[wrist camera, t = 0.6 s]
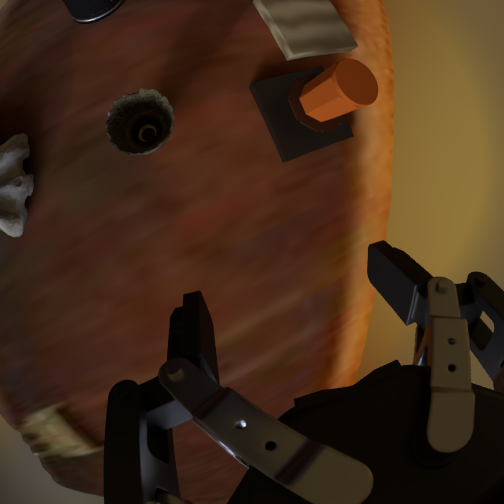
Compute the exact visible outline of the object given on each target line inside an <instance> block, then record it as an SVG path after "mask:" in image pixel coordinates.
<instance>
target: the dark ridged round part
mask: <svg viewBox="0 0 504 504" xmlns="http://www.w3.org/2000/svg"><path fill="white" fill-rule="evenodd" d="M108 116H109V118H110V119H109V120H108V121H107V122H106V127H107V129H106V134H107V135H108V137H109V138H110V139H111V140H110V143H111V144H113V145H114V146H115V147H116V148H117V149H118V150H119V151H120V152H123V153H127V154H132V155H145V154H149V153H152V152H154V151H156V150H158V149H159V148H161V147H162V146H163V145H164V144H165V142H166V141H167V139H168V138H169V136H170V133H171V130H172V128H173V122H174V111H173V107H172V105H171V104H170V103H169V102H168V99H167V97H166V96H162V95H161V93H160V92H159V91H157V90H155V89H146V88H141V89H140V91H139V92H138V93H133V94H131V95H130V94H127V93H126V94H124V96H123V98H118V99H116V101H115V102H114V107H113V110H112V111H111V110H110V111H109V112H108ZM148 128H150V129H152V130H153V131H154V137H153V138H152V139H151V140H145V139H143V137H142V133H143V131H144V130H145V129H148Z"/></svg>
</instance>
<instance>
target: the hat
mask: <svg viewBox="0 0 504 504" xmlns="http://www.w3.org/2000/svg"><path fill="white" fill-rule="evenodd" d="M297 79H298V80H296V79H295V80H294V82H293V85H292V87H291V90H290V92H289V95H288V97H290V98H292V99H289V100H288V101H289V103H290V105H291V108H292V110H293V112H294V114H295V116H296V119H297V120H298V119H301V120H300V123H302V124H304V125H306V126H307V127H309V128H311V129H313V130H315V131H317V132H320V130H321V131H322V133H323V132H326V131H329V130H332V129H335V128H338V127H340V126H339V124H340V125H342V123H343V119H344V116H345V114H346V113H348V112H351V111H354V110H356V109H359V108H362V107H365V106H367V105H370V104H372V103H373V102H374V101H375V100H376V98H377V95H378V85H377V81H376V79H375V77H374V75H373V74H372V72H371V71H370V70H369V69H368V68H367V67H366V66H365V65H364V64H363V63H361V62H359V61H357V60H354V59H344V60H342V61H340V62H338V63H335V64H333V65H332V66H331V67H329V68H328V69H326V70H325V71H323V72H322V73H321V74H318V75H317V76H316V74H315V73H314V74H310V75H305V76H301V77H297ZM305 112H306V113H305Z"/></svg>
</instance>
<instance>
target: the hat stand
mask: <svg viewBox="0 0 504 504" xmlns="http://www.w3.org/2000/svg"><path fill="white" fill-rule="evenodd" d="M323 71H325V70H324V69H323V67H322V66H321V67H316V68H311V69H306V70H301V71H296V72H292V73H288V74H284V75H279V76H276V77H272V78H268V79H264V80H261V81H257V82H254V83H251V84H250V86H249V88H250V91H251V93H252V95H253V97H254V99H255V101H256V103H257V105H258V107H259V109H260V111H261V114H262V116H263V118H264V120H265V122H266V125H267V127H268V129H269V131H270V133H271V136H272V138H273V140H274V142H275V145H276V147H277V149H278V152H279V154H280V156H281V159H282V161H283V162H287V161H289V160H292V159H294V158H297V157H299V156H302V155H304V154H307V153H310V152H312V151H315V150H317V149H320V148H323V147H325V146H328V145H331V144H333V143H336V142H339V141H342V140H345V139H347V138H350V137H353V133H352V131H351V128H350V126H349V123H348V121H347V118H346V116H344V119H343V123H342V125H340V124H339V126H340V127H338V128H335V129H332V130H329V131H326V132H323V133H322V131H321V130H320V132H317V131H315V130H313V129H311V128H309V127H307V126H306V125H304V124H302V123H300V120H301V119H298V120H297V119H296V116H295V114H294V112H293V110H292V108H291V105H290V103H289V101H288V100H289V99H292V98H290V97H288V95H289V92H290V90H291V87H292V85H293V82H294V80H295V79H296V80H298V79H297V77H301V76H305V75H310V74H314V73H315V74H316V76H317V75H318V74H321V73H322V72H323ZM305 113H306V112H305Z"/></svg>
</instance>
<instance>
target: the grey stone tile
mask: <svg viewBox="0 0 504 504" xmlns="http://www.w3.org/2000/svg"><path fill="white" fill-rule="evenodd" d="M253 4H254V5H255V7H256V9H257V10H258V12H259V13H260V15H261V16H262V18H263V20H264V21H265V23H266V25H267V26H268V28H269V30H270V31H271V33H272V35H273V36H274V38H275V40H276V42H277V43H278V45H279V47H280V49H281V51H282V52H283V54H284V56H285V58H286V60H287V61H290V60H295V59H300V58H305V57H311V56H317V55H324V54H332V53H340V52H349V51H352V50H353V49H355V48H356V47H358V45H357V43H356V41H355V40H354V38H353V36H352V34H351V33H350V31H349V29H348V28H347V26H346V24H345V23H344V21H343V20H342V18H341V17H340V15H339V13H338V12H337V10H336V9H335V7H334V6H333V4H332V3H331V2H330V0H253Z"/></svg>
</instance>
